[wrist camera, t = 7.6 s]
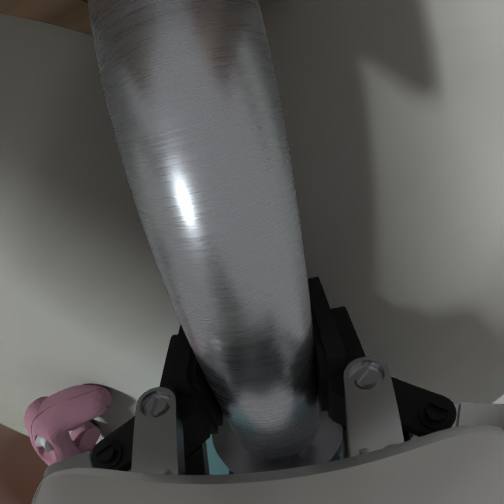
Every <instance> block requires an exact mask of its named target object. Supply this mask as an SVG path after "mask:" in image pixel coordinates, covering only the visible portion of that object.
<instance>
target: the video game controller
mask: <svg viewBox="0 0 504 504" xmlns="http://www.w3.org/2000/svg"><path fill="white" fill-rule="evenodd" d="M111 402H112V396H111V393H110V392H109V390H108V389H106V388H105V387H102V386H98V385H79V386H74V387H70V388H67V389H64V390H62V391H60V392H57V393H55V394H53V395H51V396H49V397H41V398H39V399H37V400H35V401H34V402H33V403H32V404H30V406H29V407H28V408H27V410H26V412H25V416H24V424H25V427H26V429H27V431H28V433H29V435H30V439H31V442H32V445H33V447H34V449H35V451H36V452H37V453H38V455H39V456H40V457H41V459H42V460H43V461H44V462H45V463H46V464H47V465H49V466H50V465H52V464H54V463H57V462H59V461H62V460H65V459H68V458H70V457H73V456H76V455H78V454H81V453H84V452H86V451H88V452H89V453H91V452H92V450H93V449H94V447H95V445H97V444H96V442H97V440H98V438H99V436H100V429H99V428H98V427H97V426H95V425H94V424H93V423H92V422H91V421H89V420H91V419H94V418H96V417H98V416H100V415H101V414H103V413H104V412H105V411H106V410H107V409H108V408H109V407H110V404H111ZM71 430H72V433H71V436H70V435H69V432H68V431H71Z"/></svg>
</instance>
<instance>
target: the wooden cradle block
mask: <svg viewBox="0 0 504 504" xmlns="http://www.w3.org/2000/svg"><path fill="white" fill-rule="evenodd" d="M0 14H6V15H12V16H17V17H22V18H27V19H32V20H36V21H41V22H45V23H49V24H53V25H57V26H61V27H65V28H68V29H72V30H75V31H79V32H82V33H85V34H89V35H92V29H91V23H90V16H89V9H88V2H87V0H0ZM92 36H93V35H92Z"/></svg>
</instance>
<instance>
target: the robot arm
mask: <svg viewBox="0 0 504 504" xmlns="http://www.w3.org/2000/svg"><path fill="white" fill-rule="evenodd" d="M308 287H309V296H310V305H311V315H312V325H313V336H314V348H315V360H316V372H317V386H318V396H319V401H320V406H321V410H322V412H323V411H327V412H328V416H329V418H332V421H334V422H336V423H338V424H340V425H341V431H342V449H343V459H340V460H335V461H330V462H325V463H320V464H315V465H309V466H303V467H297V468H290V469H283V470H275V471H266V472H255V473H242V474H224V475H210V472H209V463H208V454H207V445H206V440H207V439H209V438H210V434H218V426H222V425H223V411H222V409H221V407H220V405H219V403H218V401H217V400H216V398H215V396H214V394H213V392H212V390H211V388H210V386H209V384H208V382H207V380H206V377H205V375H204V373H203V371H202V369H201V367H200V365H199V363H198V361H197V359H196V356H195V354H194V352H193V350H192V348H191V346H190V343H189V341H188V339H187V337H186V334H185V332H184V330H183V328H182V325H180V329H179V334H177V335H173V336H172V337H171V339H170V344H169V348H168V352H167V356H166V361H165V365H164V369H163V374H162V378H161V383H160V387H156V388H152V389H149V390H148V391H146V392H144V393H143V394H142V395H141V396H140V398H139V399H138V401H137V404H136V411H135V416H134V417H133V418H132V419H130V420H129V421H128V422H126V423H125V424H124V425H122V426H121V427H119V428H118V429H117V430H115V431H114V432H112V433H111V434H110V435H108V436H107V437H105V438H104V439H103V440H101V441H100V442H99V443H98V444H97V445H95V447H94V449H93V450H92V452H91V453H89V452H88V451H86V452H84V453H81V454H78V455H76V456H73V457H70V458H68V459H65V460H62V461H59V462H57V463H54V464H52V465H50V466H48V468H47V469H46V471H45V473H44V479H43V481H42V482H41V483H40V485H39V487H38V489H37V491H36V493H35V496H34V498H33V501H32V504H504V404H490V403H473V402H461V403H460V404H454V403H453V402H452V401H451V400H450V399H448V398H446V397H444V396H442V395H439V394H436V393H433V392H431V391H428V390H425V389H422V388H420V387H417V386H414V385H411V384H409V383H406V382H403V381H401V380H398V379H395V378H393V377H391V375H390V371H389V369H388V366H387V365H386V364H385V363H384V362H383V361H381V360H380V359H378V358H374V357H366V356H365V354H364V351H363V349H362V346H361V344H360V341H359V339H358V336H357V334H356V331H355V329H354V326H353V324H352V322H351V319H350V317H349V314H348V312H347V310H346V308H345V307H344V306H343V307H339V308H334V309H330V307H329V304H328V301H327V298H326V296H325V293H324V290H323V288H322V285H321V282H320V280H319V277H314V278H309V279H308Z"/></svg>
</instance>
